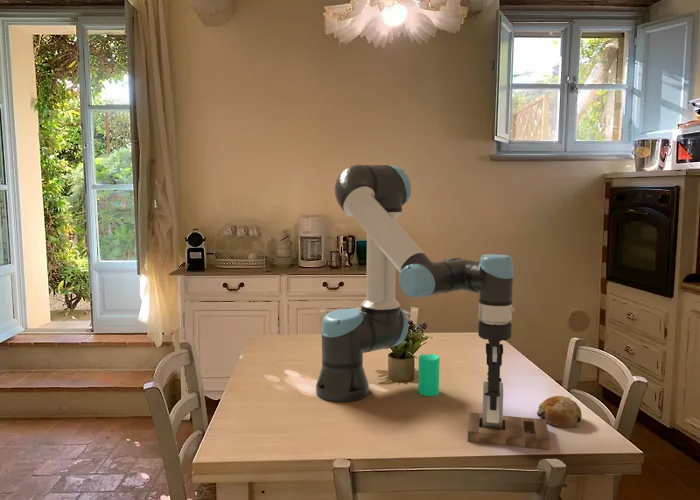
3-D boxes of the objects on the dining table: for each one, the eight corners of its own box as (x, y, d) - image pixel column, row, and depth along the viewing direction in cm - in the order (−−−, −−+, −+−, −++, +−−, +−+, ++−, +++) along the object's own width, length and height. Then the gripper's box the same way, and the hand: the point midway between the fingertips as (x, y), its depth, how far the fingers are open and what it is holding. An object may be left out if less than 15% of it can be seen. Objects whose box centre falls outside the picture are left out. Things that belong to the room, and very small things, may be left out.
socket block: (467, 441, 131) (467, 430, 130) (469, 422, 141) (469, 412, 141) (549, 449, 126) (549, 439, 126) (544, 429, 137) (545, 419, 137)
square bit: (482, 436, 133) (483, 387, 132) (482, 428, 137) (483, 381, 136) (501, 438, 132) (503, 389, 131) (501, 430, 136) (502, 382, 135)
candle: (441, 390, 163) (442, 349, 162) (435, 397, 158) (436, 355, 156) (421, 387, 166) (422, 347, 164) (415, 393, 160) (415, 352, 159)
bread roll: (568, 444, 137) (584, 419, 134) (529, 419, 141) (545, 394, 139) (575, 429, 145) (591, 405, 143) (539, 406, 150) (553, 382, 147)
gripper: (513, 332, 121) (510, 434, 123) (510, 312, 140) (507, 400, 143) (477, 330, 123) (475, 431, 125) (479, 310, 142) (477, 398, 145)
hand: (492, 415), depth 134 cm, fingers open, 7 cm apart
